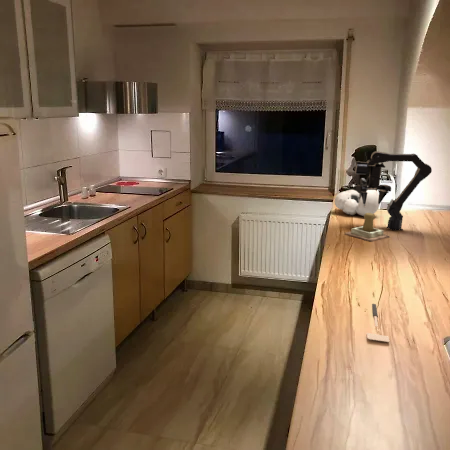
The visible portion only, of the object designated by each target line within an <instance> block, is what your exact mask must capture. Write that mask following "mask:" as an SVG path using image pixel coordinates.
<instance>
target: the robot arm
mask: <svg viewBox="0 0 450 450" xmlns="http://www.w3.org/2000/svg"><path fill="white" fill-rule="evenodd" d="M387 162H412V163H413V164H414V165H415V166H416V168H417V169H416V170H415V172H414V175H413V176H412V178H411V179H410V181H409V182H408V183H407V185H406V186H405V187H404V188H403V190H402V191H401V192H400V193H399V195H398V197H396V199H393V198H391V199H390V201H389V202H388V204H386V211H387V213H388V214H389V216H390V217H389V218H388V220H387V226H386V229H388V230H391V231H403V230H404V229H403V228H402V225H403V219H404V215H403V214H402V212H401V210H402V208H403V205H404V203H405V202H406V200H407V199H408V198H409V197H410V196H411V194H412V193H413V192H414V190H415V189H416V188H417V187H418V186H419V184H420V183H421V182H422V181H423V180H425V179H426V178H427V177H428V176H430V175H431V173H432V167H431V165H429V164H428V163H424V161H423V160H422V159H421V158H420V157H419V155H418V154H416V153H387V152H384V151H383V152H382V151H378V150H377V151H373V152H371V156H370V158H369V159H368V160H367V161H366V162H365V161H359V160H358V161H356V165H355V171H354V172H355V175H367V174H369V176H367V178H366V179H365V177H361V178H359V184H357V185H356V186H355V189H354V190H355V191H357V192H358V193H359V194H361V196H362V200H363V204H365V203H366V198H367V193H368V192H366V191H367V190H376V191H377V192H378V195H379V199H378V204H381V203H382V201H383V200H384V198H385V196H386V195H388V194H389V192H391V191H392V187H391V186H390V185H388V184H381V183H380V182H381V181H382V177H381V174H382V168H383V169H384V168H386V166H385V165H384V163H387ZM367 186H368V187H367Z"/></svg>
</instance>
